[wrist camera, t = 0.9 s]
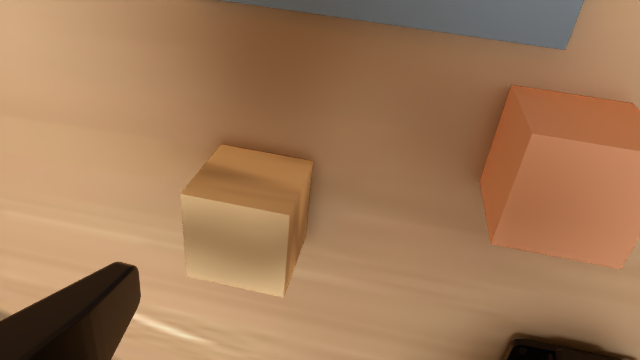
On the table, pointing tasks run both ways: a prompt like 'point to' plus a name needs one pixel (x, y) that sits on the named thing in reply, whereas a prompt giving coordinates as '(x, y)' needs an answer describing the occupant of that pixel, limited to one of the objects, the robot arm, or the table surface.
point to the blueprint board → (455, 16)
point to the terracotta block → (565, 177)
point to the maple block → (246, 219)
